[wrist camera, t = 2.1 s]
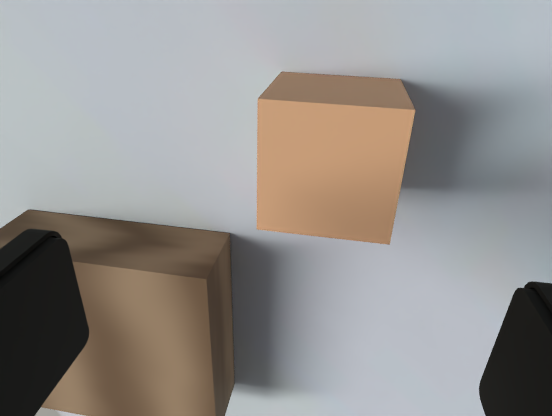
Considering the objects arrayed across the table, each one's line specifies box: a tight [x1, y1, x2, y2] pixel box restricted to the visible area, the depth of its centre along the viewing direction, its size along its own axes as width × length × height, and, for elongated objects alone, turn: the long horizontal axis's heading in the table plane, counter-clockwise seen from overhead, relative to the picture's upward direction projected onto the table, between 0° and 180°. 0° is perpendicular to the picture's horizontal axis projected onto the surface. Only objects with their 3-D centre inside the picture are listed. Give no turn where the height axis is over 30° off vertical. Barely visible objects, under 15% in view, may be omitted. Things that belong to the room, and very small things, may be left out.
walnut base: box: [0, 210, 235, 416], centre depth 24 cm, size 12×12×4 cm
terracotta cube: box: [257, 72, 415, 245], centre depth 16 cm, size 5×5×5 cm
